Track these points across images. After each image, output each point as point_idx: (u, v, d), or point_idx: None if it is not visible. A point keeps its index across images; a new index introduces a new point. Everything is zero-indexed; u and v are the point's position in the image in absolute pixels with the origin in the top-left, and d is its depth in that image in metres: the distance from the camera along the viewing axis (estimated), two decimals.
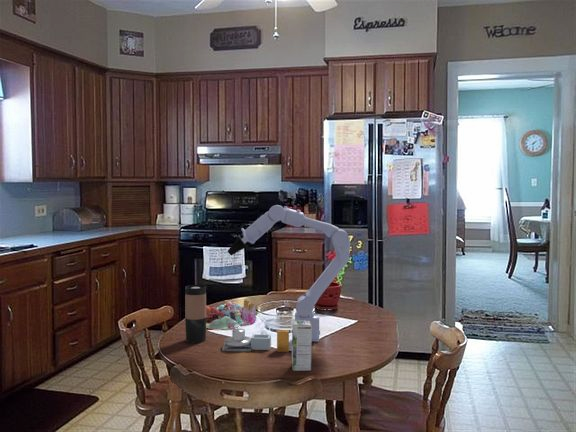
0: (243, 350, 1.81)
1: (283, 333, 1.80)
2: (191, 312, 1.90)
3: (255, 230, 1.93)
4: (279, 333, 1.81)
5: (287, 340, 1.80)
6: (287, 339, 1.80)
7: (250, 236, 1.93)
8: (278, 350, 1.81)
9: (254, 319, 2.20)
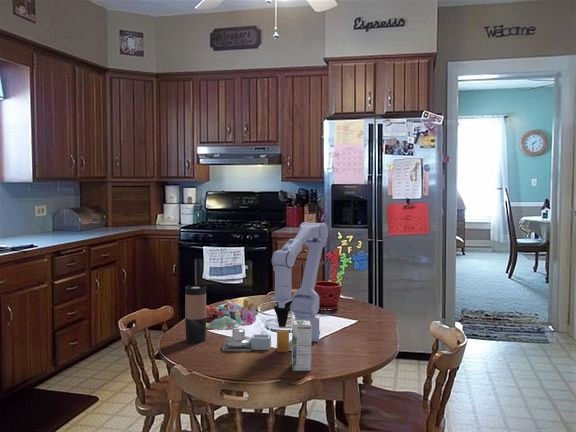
0: (243, 350, 1.81)
1: (283, 333, 1.80)
2: (191, 312, 1.90)
3: (282, 289, 1.78)
4: (279, 333, 1.81)
5: (287, 340, 1.80)
6: (287, 339, 1.80)
7: (283, 297, 1.78)
8: (278, 350, 1.81)
9: (254, 319, 2.20)
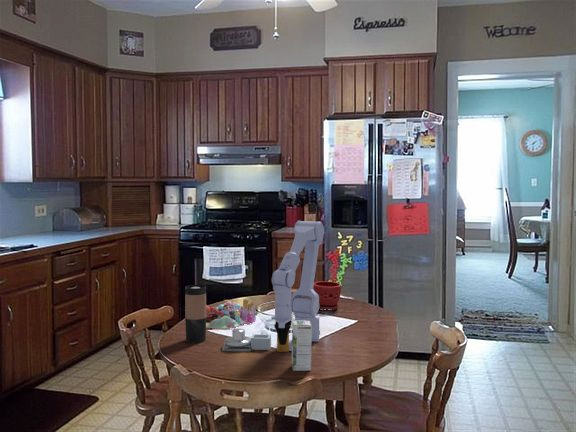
0: (243, 350, 1.81)
1: None
2: (191, 312, 1.90)
3: (282, 308, 1.78)
4: None
5: (287, 340, 1.80)
6: (287, 339, 1.80)
7: (283, 317, 1.78)
8: (278, 350, 1.81)
9: (253, 319, 2.20)
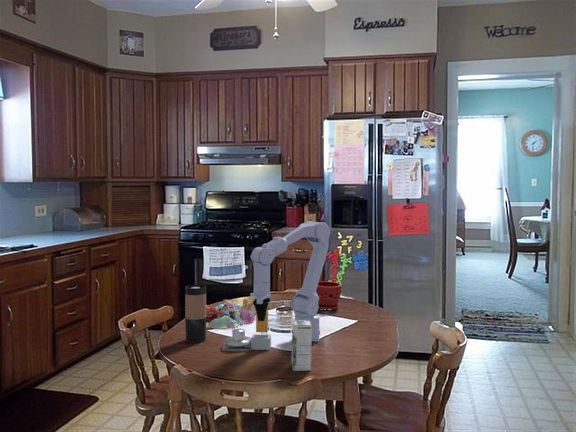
0: (243, 350, 1.81)
1: None
2: (191, 312, 1.90)
3: (260, 285, 1.81)
4: None
5: (266, 321, 1.83)
6: (266, 320, 1.83)
7: (262, 293, 1.81)
8: (257, 330, 1.84)
9: (253, 318, 2.21)
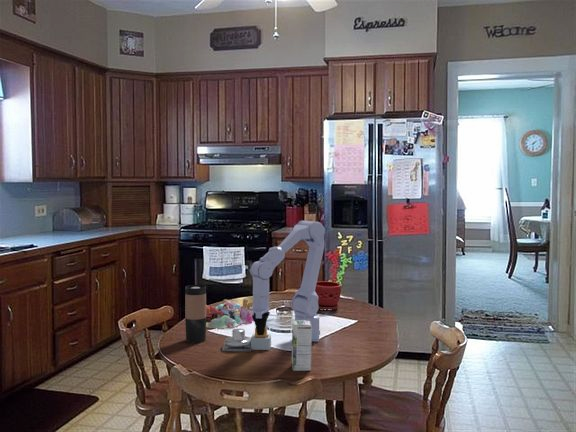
0: (243, 350, 1.81)
1: None
2: (191, 312, 1.90)
3: (259, 299, 1.82)
4: None
5: (265, 337, 1.84)
6: (265, 336, 1.84)
7: (261, 307, 1.82)
8: None
9: None
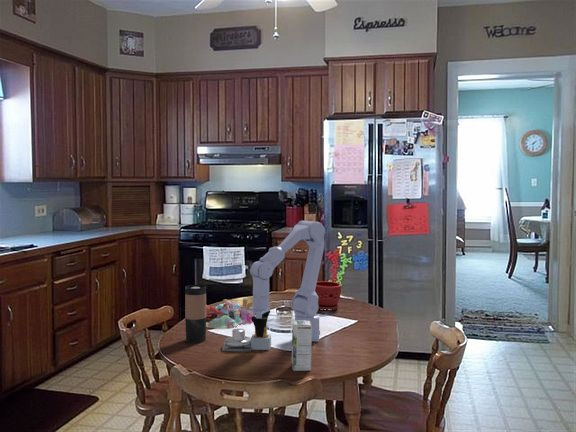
0: (243, 350, 1.81)
1: None
2: (191, 312, 1.90)
3: (259, 299, 1.82)
4: None
5: (265, 337, 1.84)
6: (265, 336, 1.84)
7: (261, 307, 1.82)
8: None
9: None
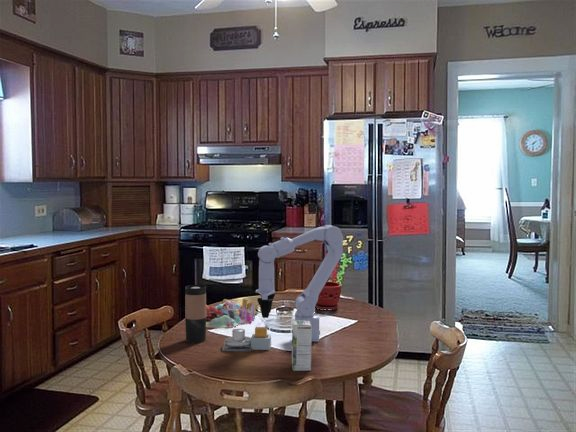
0: (243, 350, 1.81)
1: (261, 330, 1.84)
2: (191, 312, 1.90)
3: (265, 282, 1.90)
4: (257, 330, 1.84)
5: (265, 337, 1.84)
6: (265, 336, 1.84)
7: (266, 290, 1.90)
8: None
9: (253, 318, 2.21)
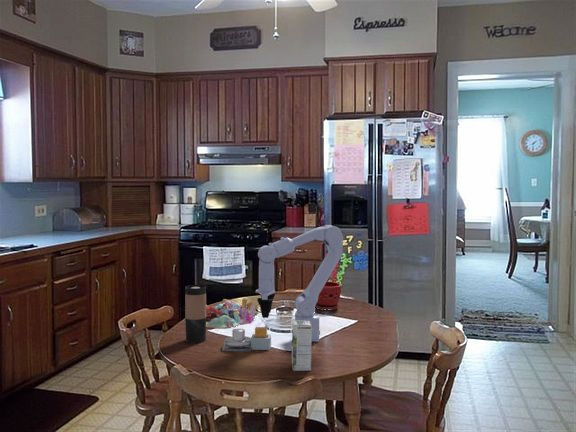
0: (243, 350, 1.81)
1: (261, 330, 1.84)
2: (191, 312, 1.90)
3: (265, 282, 1.90)
4: (257, 330, 1.84)
5: (265, 337, 1.84)
6: (265, 336, 1.84)
7: (266, 290, 1.90)
8: None
9: (252, 318, 2.22)
